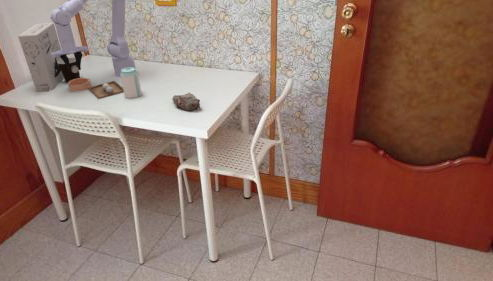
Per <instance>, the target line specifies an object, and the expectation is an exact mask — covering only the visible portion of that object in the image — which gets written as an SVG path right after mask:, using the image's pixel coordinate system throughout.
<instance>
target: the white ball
mask: <svg viewBox="0 0 493 281" xmlns="http://www.w3.org/2000/svg"><path fill="white" fill-rule="evenodd" d="M107 83H108V82H105V84H104V83H102V84H103V86H102V88H103V90H105V91H106V88H107V87H108V86H110V85H109V84H107Z"/></svg>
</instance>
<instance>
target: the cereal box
mask: <svg viewBox="0 0 493 281" xmlns="http://www.w3.org/2000/svg"><path fill="white" fill-rule="evenodd" d="M18 40H19V43H20V46H21V49H22V52H23V53H22V54H23V55H24V58H25V59H24V60H25V61H26V65H27V67H28V69H29V70H28V71H29V73H30V76H31V79H32V82H33V85H34V87H35V91H36V92H37V93H39V92H50V90H51V91H52V90H54V89H56V88H57V86H58V85H59V84H60V83H62V81H63V80H65V79H64V76H63V74H62V72H61V69H60V67H59V65H58V61H59V60H61V58H60V56H59V57H56V58H52V55H51V53H52V52H56V51H59V50H62V48H61V45H60V41H59V38H58V34H57V31H56V27H55V23H54V22H43V23H41V22H40V23H36V24H35V25H33V26H31V27H29V28H28V29H26V30H25V31H24V32H22V33H20V34H19V35H18Z"/></svg>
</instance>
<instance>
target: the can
mask: <svg viewBox="0 0 493 281" xmlns="http://www.w3.org/2000/svg"><path fill="white" fill-rule="evenodd" d="M135 68H136V67H135ZM135 68H134V67H127V68H123V69H122V70H121V73H120V76H121V78H120V80H121V87H123V90H124V92H123V95H124V97H125V98H126V99H136V98H138V97H141V95H142V94H143V93H142V89H141V82H140V77H139V76H140V75H139V72H138V71H137V69H136V70H135Z"/></svg>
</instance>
